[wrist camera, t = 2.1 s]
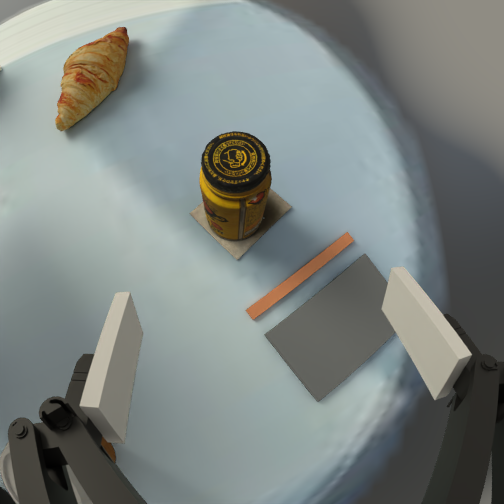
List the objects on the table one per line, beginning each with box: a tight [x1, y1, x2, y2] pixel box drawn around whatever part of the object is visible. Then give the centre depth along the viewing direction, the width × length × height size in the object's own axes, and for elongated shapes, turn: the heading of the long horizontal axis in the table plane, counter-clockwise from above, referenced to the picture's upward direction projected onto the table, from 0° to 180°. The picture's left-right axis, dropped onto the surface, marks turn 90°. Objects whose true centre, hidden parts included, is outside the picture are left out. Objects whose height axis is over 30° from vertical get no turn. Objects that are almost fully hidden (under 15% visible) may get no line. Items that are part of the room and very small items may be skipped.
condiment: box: [190, 132, 292, 260], centre depth 29 cm, size 7×8×12 cm
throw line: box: [246, 232, 354, 319], centre depth 33 cm, size 1×14×1 cm, turn 127°
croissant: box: [55, 27, 129, 131], centre depth 37 cm, size 21×10×8 cm, turn 169°
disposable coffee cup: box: [0, 436, 116, 504], centre depth 21 cm, size 10×10×12 cm
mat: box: [265, 254, 395, 401], centre depth 32 cm, size 9×14×1 cm, turn 127°
